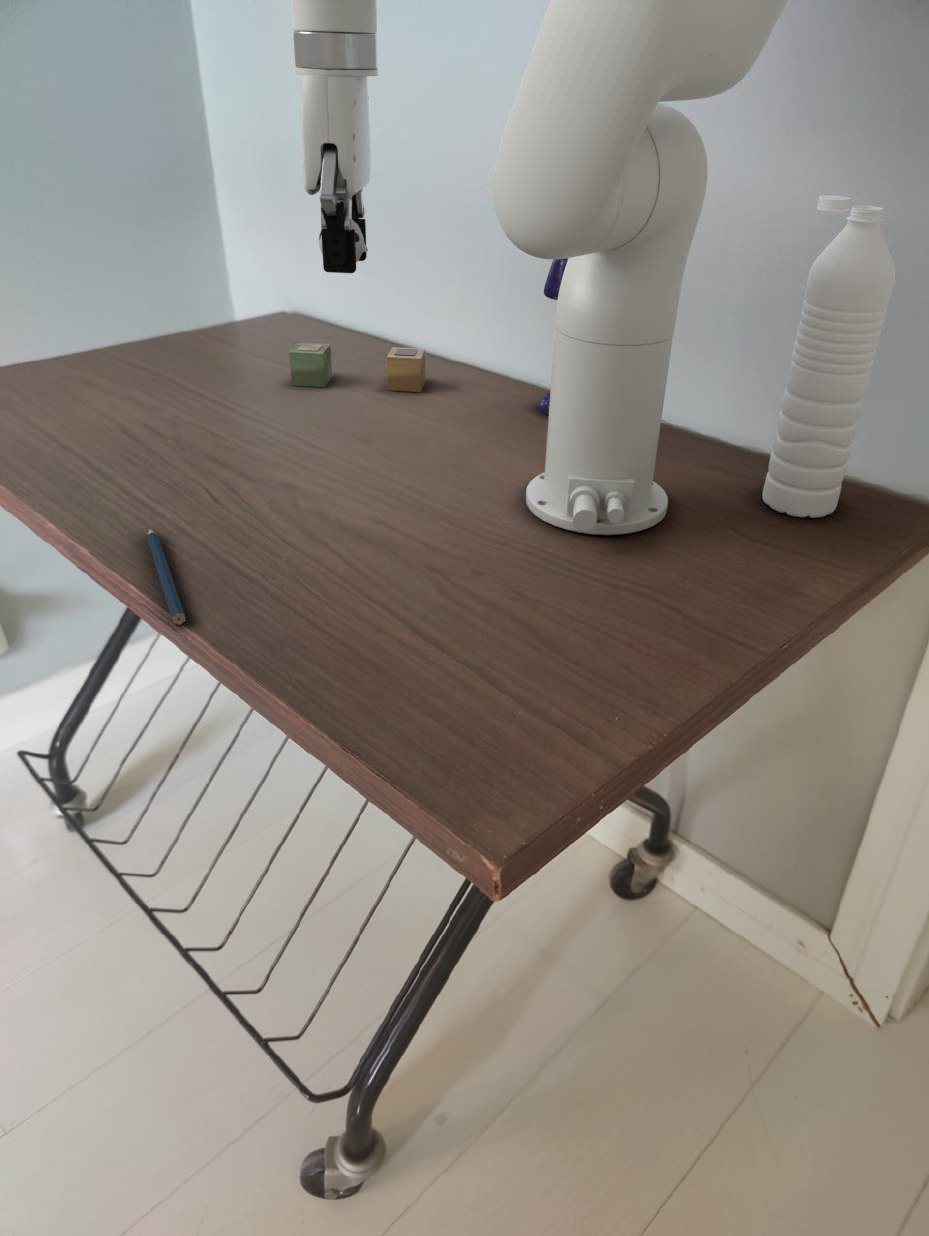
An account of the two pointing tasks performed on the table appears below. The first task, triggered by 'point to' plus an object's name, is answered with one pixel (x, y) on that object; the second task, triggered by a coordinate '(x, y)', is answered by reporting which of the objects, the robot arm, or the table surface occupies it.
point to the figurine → (358, 241)
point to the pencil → (166, 579)
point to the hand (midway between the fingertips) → (345, 263)
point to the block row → (316, 367)
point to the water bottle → (830, 364)
